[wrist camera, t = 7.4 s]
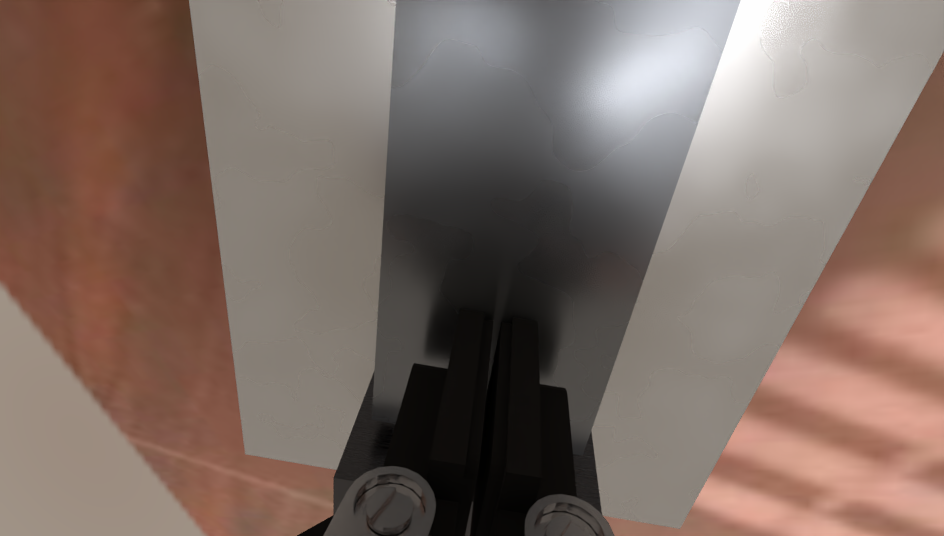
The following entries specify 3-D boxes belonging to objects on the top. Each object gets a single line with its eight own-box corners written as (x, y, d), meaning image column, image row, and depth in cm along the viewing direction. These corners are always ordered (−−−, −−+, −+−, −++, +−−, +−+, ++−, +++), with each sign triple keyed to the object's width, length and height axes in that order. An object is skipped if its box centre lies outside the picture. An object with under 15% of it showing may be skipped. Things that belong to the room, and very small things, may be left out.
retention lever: (459, -701, 6) (442, -879, 5) (922, -637, 6) (1028, -801, 4) (383, 384, 14) (369, 426, 12) (578, 418, 14) (583, 462, 12)
